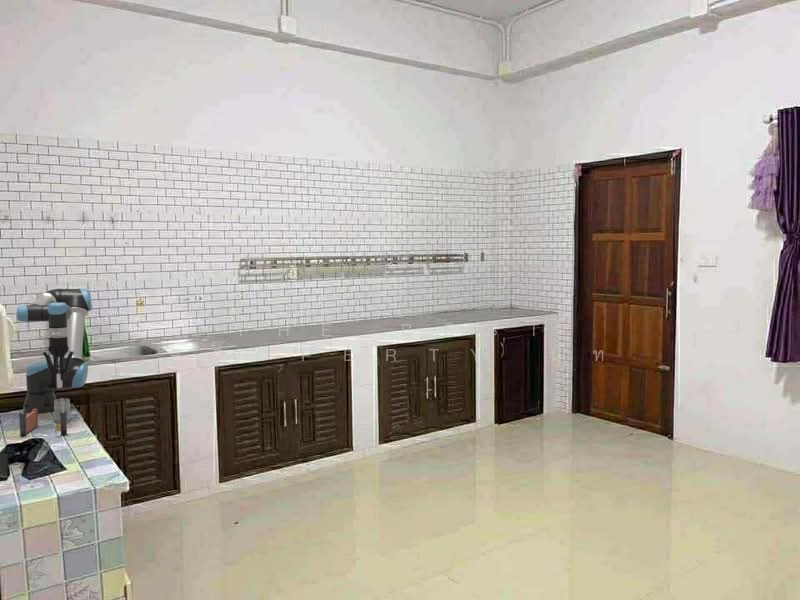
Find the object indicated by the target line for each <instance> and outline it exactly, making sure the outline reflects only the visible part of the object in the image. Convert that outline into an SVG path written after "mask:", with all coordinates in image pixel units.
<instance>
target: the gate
mask: <svg viewBox="0 0 800 600" xmlns="http://www.w3.org/2000/svg"><path fill="white" fill-rule="evenodd" d="M38 416H39V413H38V411H37V409H33V410H32V412H31V413H27V414H26V433H27V434H28V433H30V432H31V431H32V430H33V429H34V428H36V427H38V425H39V419H38V418H39V417H38Z"/></svg>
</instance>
